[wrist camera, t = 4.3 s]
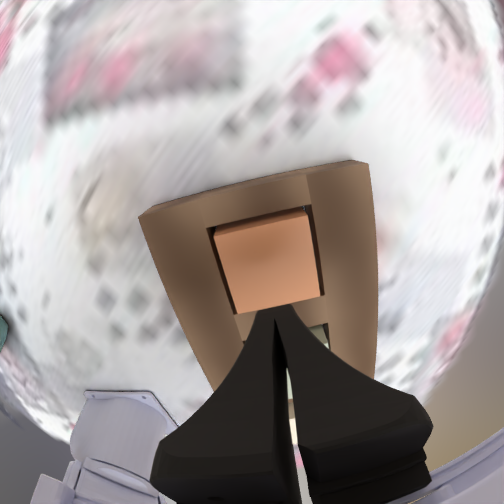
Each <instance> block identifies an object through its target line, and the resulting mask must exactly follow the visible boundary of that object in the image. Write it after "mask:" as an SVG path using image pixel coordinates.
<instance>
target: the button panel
mask: <svg viewBox="0 0 504 504" xmlns="http://www.w3.org/2000/svg"><path fill="white" fill-rule="evenodd" d="M304 205H305V209H306V214H307V215H308V220H309V226H310V232H311V237H312V244H313V250H314V256H315V263H316V269H317V276H318V283H319V290H320V296H319V297H315V298H311V299H307V300H302V301H298V302H293V303H289V304H291V305H292V306H293V308H294V310H295V311H296V313H297V314H298V316H299V317H300V319H301V320H302V321H303V323H304V324H305V325H306V326H307V327H312V326H316V325H320V324H323V330H324V333H325V336H326V339H327V342H328V348H329V349H330V350H331V351H332V352H333V353H334V354H336V355H337V356H338V357H339V358H341V359H342V360H343V361H345V362H346V363H348V364H349V365H351V366H352V367H353V368H355V369H357V370H358V371H360V372H362V373H364V374H365V375H367V376H369V377H371V378H372V379H374V373H375V361H376V347H377V327H378V262H377V241H376V227H375V215H374V205H373V195H372V187H371V179H370V172H369V165H368V163H364V162H359V161H355V160H349V161H343V162H337V163H331V164H325V165H320V166H315V167H309V168H304V169H299V170H294V171H289V172H284V173H280V174H275V175H270V176H266V177H262V178H257V179H253V180H249V181H244V182H240V183H236V184H232V185H228V186H224V187H220V188H216V189H212V190H209V191H205V192H201V193H197V194H194V195H190V196H186V197H183V198H179V199H176V200H172V201H169V202H166V203H162V204H159V205H156V206H152V207H151V208H149V209H148V210H147V211H145V212H144V213H143V214H142V215H140V216H139V217H138V219H139V222H140V225H141V227H142V230H143V233H144V236H145V239H146V241H147V244H148V247H149V250H150V252H151V255H152V257H153V260H154V263H155V265H156V268H157V270H158V273H159V275H160V278H161V280H162V283H163V285H164V288H165V290H166V292H167V295H168V297H169V299H170V302H171V304H172V306H173V309H174V311H175V313H176V315H177V318H178V320H179V322H180V324H181V327H182V329H183V331H184V333H185V335H186V337H187V339H188V341H189V344H190V346H191V348H192V350H193V352H194V354H195V356H196V358H197V360H198V362H199V364H200V366H201V368H202V370H203V372H204V374H205V376H206V377H207V379H208V381H209V383H210V385H211V387H212V389H213V391H214V392H215V390H216V389H217V388H218V387H219V385H220V384H221V383H222V381H223V380H224V378H225V377H226V376H227V374H228V373H229V371H230V370H231V368H232V366H233V365H234V363H235V361H236V359H237V357H238V356H239V354H240V352H241V350H242V348H243V346H244V344H245V341H246V339H247V337H248V335H249V332H250V330H251V327H252V324H253V321H254V318H255V315H256V312H257V311H258V310H256V311H251V312H246V313H241V314H238V313H237V310H236V307H235V304H234V301H233V298H232V295H231V292H230V288H229V285H228V282H227V279H226V276H225V273H224V269H223V266H222V263H221V260H220V256H219V253H218V250H217V247H216V243H215V240H214V234H215V231H216V230H215V226H216V225H220V224H225V223H229V222H233V221H237V220H241V219H246V218H250V217H254V216H259V215H263V214H267V213H272V212H276V211H281V210H285V209H290V208H294V207H299V206H304ZM284 305H286V304H284ZM280 306H281V305H280ZM275 307H277V306H275ZM270 308H272V307H270ZM266 309H267V308H266ZM261 310H263V309H261ZM292 402H293V398H292V399H288V403H292Z"/></svg>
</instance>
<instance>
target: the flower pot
mask: <svg viewBox="0 0 504 504" xmlns="http://www.w3.org/2000/svg"><path fill="white" fill-rule="evenodd" d="M7 331H8V325H7V323H6V322H5V321H4V319H3V318H2V317H1V316H0V352H1V350H2V347H3V345H4V342H5V339H6V336H7Z"/></svg>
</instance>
